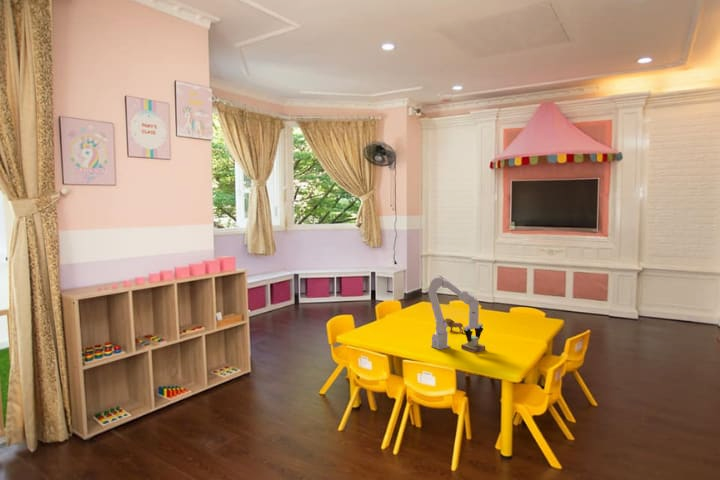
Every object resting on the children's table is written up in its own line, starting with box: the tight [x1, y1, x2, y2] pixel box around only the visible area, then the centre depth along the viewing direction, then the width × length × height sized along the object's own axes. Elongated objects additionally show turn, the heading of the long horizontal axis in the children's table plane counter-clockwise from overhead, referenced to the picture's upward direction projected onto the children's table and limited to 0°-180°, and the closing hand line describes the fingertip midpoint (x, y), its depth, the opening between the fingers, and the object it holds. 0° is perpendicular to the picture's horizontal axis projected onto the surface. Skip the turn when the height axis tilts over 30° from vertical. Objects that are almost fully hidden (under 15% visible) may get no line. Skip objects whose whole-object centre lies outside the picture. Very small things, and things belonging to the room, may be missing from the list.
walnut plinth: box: [460, 342, 486, 354], centre depth 273 cm, size 10×10×3 cm
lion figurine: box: [444, 317, 464, 334], centre depth 310 cm, size 15×5×9 cm, turn 68°
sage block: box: [467, 335, 480, 347], centre depth 273 cm, size 4×4×5 cm
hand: (473, 340), depth 272 cm, fingers open, 7 cm apart
